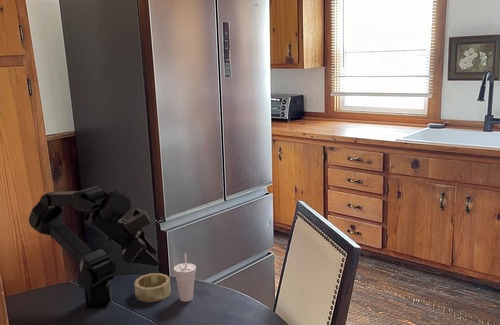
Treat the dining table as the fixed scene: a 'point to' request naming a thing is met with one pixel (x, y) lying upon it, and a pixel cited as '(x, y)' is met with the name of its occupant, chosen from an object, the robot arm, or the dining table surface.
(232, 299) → the dining table surface
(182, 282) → the smoothie
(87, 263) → the robot arm
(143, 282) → the collar
